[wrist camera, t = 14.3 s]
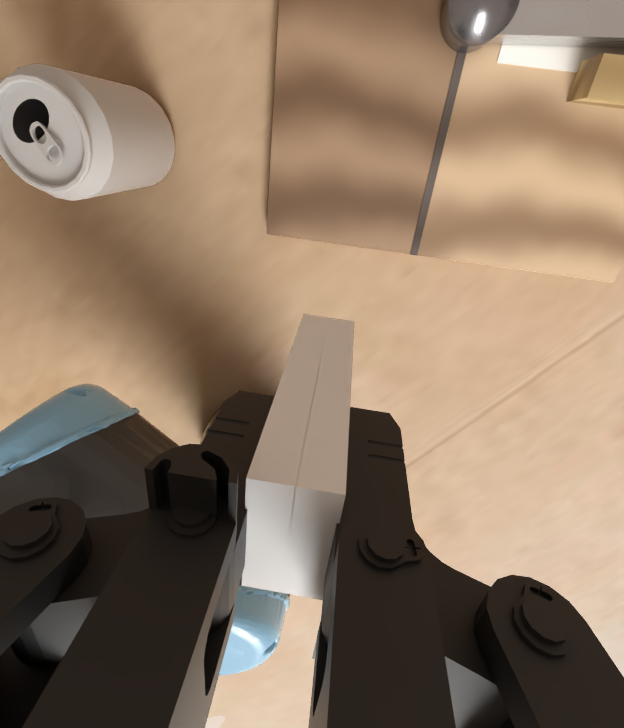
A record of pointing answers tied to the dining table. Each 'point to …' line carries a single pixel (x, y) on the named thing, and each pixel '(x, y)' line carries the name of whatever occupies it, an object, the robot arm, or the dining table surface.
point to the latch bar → (532, 23)
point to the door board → (445, 141)
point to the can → (81, 133)
